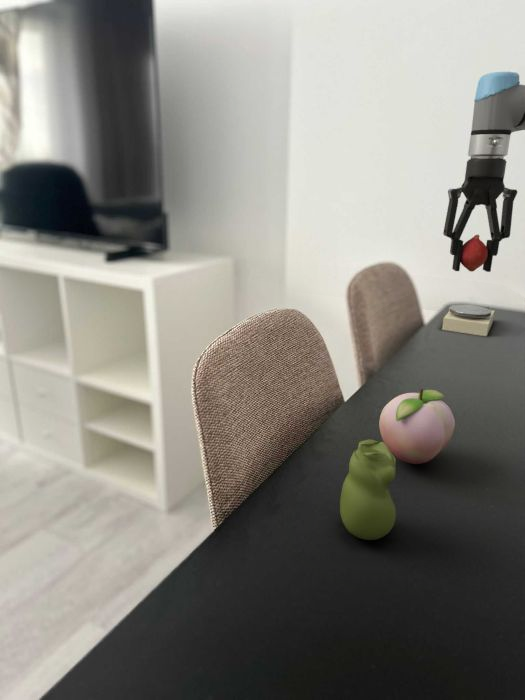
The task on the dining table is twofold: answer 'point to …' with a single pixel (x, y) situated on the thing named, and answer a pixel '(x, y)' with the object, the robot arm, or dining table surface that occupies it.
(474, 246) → the onion
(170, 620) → the dining table surface
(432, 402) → the decorative fruit
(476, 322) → the scale
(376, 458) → the pear
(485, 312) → the scale platform
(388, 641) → the dining table surface
